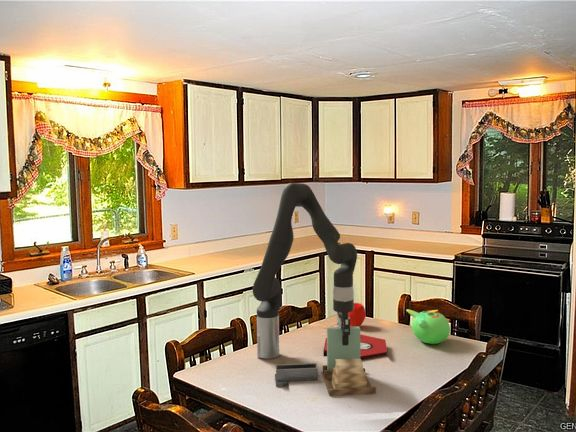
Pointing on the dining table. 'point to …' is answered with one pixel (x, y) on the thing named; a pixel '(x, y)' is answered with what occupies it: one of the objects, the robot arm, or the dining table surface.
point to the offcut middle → (349, 377)
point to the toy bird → (430, 326)
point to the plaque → (368, 347)
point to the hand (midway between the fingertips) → (343, 341)
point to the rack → (344, 391)
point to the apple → (357, 315)
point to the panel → (338, 349)
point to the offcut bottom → (348, 384)
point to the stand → (295, 373)
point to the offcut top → (348, 366)
